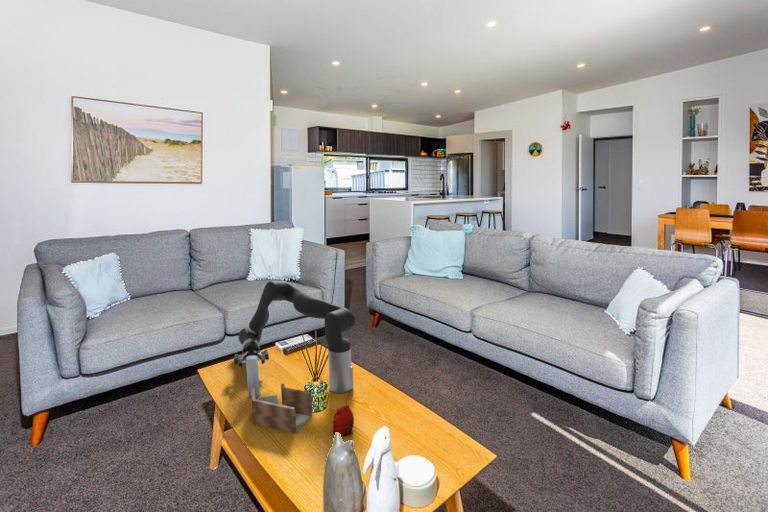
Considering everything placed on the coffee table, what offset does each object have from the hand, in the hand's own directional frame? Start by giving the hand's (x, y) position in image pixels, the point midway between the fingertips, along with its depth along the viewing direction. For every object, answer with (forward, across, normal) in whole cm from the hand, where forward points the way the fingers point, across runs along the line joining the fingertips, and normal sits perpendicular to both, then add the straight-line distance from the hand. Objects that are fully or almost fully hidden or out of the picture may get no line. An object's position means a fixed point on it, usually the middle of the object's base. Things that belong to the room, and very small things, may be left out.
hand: (252, 363), depth 175 cm
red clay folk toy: (+46, +28, +9) cm, 55 cm away
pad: (+17, +5, +9) cm, 20 cm away
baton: (+10, 0, +9) cm, 14 cm away
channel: (+32, +9, +9) cm, 35 cm away
